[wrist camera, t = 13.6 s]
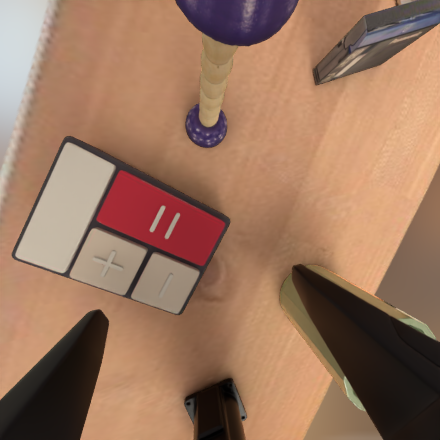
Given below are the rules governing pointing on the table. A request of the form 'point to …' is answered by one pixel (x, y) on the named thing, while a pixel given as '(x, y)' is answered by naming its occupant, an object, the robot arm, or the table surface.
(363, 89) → the table surface
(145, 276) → the calculator
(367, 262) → the table surface
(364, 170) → the table surface
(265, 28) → the toy lamp
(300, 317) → the pencil cup
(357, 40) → the mini dv tape
